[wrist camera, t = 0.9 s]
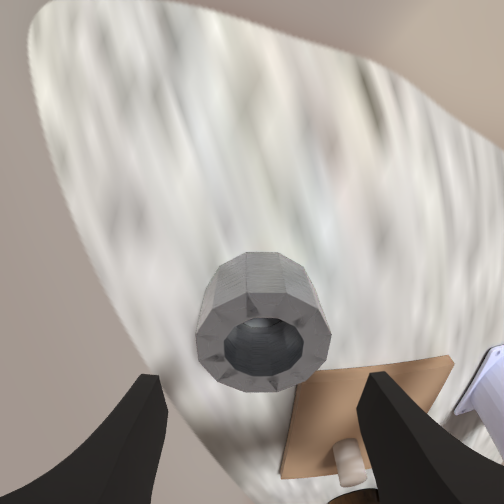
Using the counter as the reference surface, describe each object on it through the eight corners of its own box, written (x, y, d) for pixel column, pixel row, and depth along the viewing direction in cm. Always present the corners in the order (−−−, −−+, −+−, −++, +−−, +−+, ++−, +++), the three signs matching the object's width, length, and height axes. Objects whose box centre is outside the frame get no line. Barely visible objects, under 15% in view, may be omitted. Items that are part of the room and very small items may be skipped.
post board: (448, 354, 18) (477, 399, 14) (389, 455, 23) (401, 492, 19) (299, 371, 18) (310, 433, 13) (280, 470, 23) (283, 512, 19)
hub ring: (319, 253, 14) (339, 292, 11) (307, 342, 17) (319, 390, 13) (203, 251, 14) (191, 291, 11) (209, 342, 16) (202, 391, 13)
